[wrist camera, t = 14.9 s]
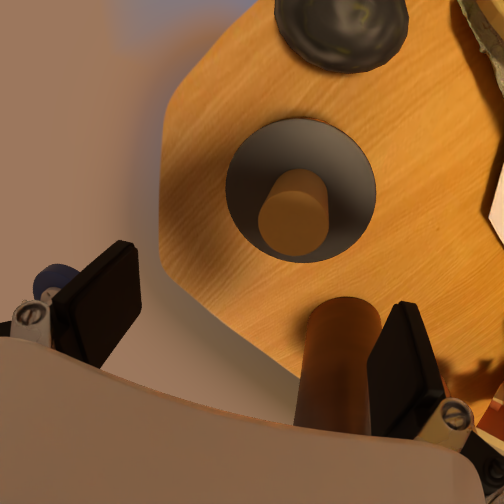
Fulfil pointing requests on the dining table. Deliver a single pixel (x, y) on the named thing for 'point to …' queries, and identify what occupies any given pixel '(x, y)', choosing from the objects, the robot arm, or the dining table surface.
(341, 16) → the decorative stone
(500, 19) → the sculpture
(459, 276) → the dining table surface
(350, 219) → the lid
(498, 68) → the rock
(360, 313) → the cylinder
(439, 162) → the dining table surface
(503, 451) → the toy character
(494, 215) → the plate
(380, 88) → the dining table surface
